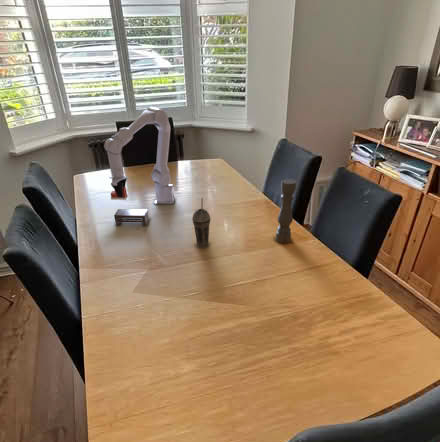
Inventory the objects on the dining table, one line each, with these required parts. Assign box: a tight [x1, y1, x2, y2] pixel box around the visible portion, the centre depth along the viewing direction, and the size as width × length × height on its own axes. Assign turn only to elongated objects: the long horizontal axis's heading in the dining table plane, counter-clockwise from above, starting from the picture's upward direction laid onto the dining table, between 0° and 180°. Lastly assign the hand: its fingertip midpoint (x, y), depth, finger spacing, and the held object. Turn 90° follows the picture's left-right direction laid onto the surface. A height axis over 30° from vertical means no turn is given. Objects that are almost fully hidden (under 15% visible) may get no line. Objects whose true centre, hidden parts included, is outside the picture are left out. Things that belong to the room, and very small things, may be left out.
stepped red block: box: [110, 186, 129, 201], centre depth 173 cm, size 7×4×5 cm, turn 88°
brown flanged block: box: [113, 208, 150, 226], centre depth 167 cm, size 14×7×5 cm, turn 88°
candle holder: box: [275, 178, 297, 244], centre depth 145 cm, size 6×6×25 cm
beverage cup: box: [192, 197, 211, 249], centre depth 144 cm, size 7×7×20 cm
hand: (121, 195), depth 174 cm, fingers closed on stepped red block, 4 cm apart
